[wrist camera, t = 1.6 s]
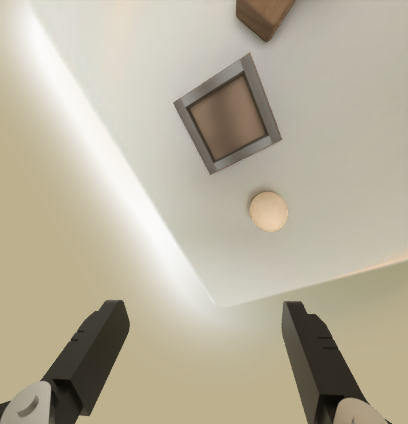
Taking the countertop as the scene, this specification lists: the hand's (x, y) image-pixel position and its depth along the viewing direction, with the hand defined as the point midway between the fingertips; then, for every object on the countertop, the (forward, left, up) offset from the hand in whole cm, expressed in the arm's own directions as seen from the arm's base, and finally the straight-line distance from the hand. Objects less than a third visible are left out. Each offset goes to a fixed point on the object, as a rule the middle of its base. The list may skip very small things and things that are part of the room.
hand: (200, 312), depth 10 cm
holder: (-5, -7, -21) cm, 23 cm away
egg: (-5, +5, -22) cm, 23 cm away
